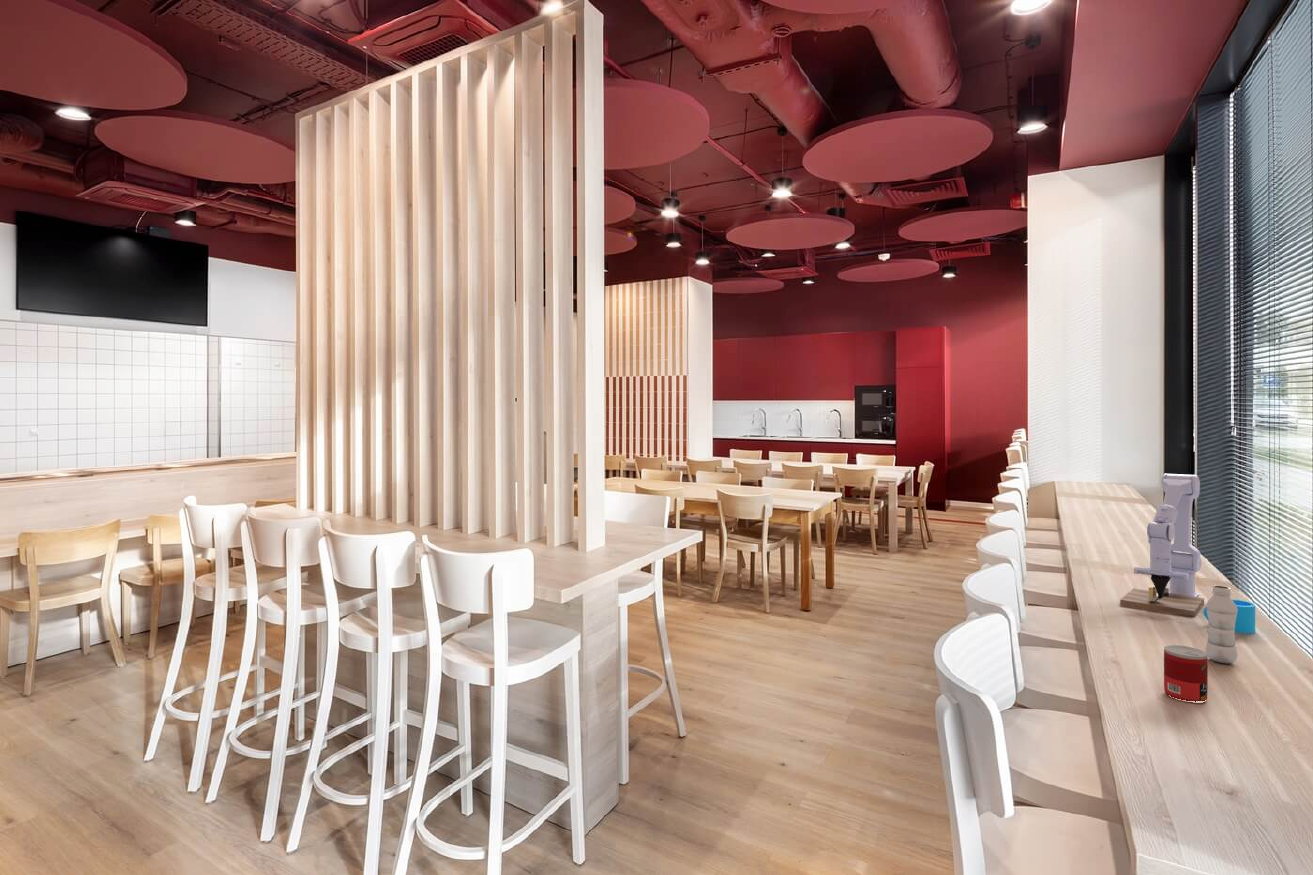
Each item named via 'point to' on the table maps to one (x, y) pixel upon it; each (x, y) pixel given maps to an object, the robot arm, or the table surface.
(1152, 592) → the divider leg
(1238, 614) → the mug
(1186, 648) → the canned food
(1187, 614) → the hole plate
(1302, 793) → the table surface
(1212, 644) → the plastic bottle
